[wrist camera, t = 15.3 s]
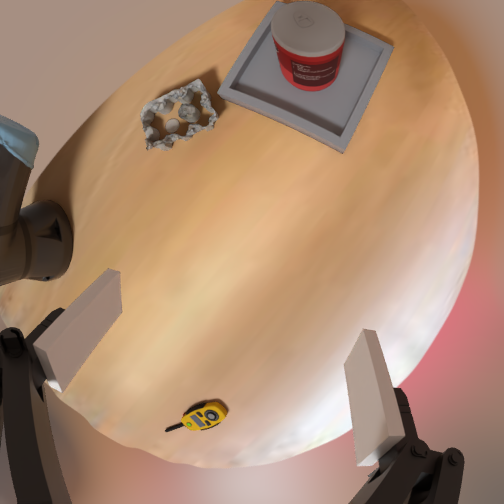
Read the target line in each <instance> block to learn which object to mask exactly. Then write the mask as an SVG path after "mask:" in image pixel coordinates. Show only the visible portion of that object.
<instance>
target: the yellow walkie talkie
mask: <svg viewBox="0 0 504 504" xmlns="http://www.w3.org/2000/svg"><path fill="white" fill-rule="evenodd" d="M226 415H227V411H226V409H225V408H224V407H223V406H222V405H221V404H220V403H218V402H211V403H202V404H199V405H196V406H194V407H192V408H190V409H189V410H188V411H187V412H186V413H184V414H183V417H182V419H181V422H182V424H179V425H177V426H174V427H171V428H169V429H166V430H165V432H169V431H172V430H174V429H177V428H180V427H183V426H185V427H187V428H188V429H189V430H192V431H193V430H206V429H209V428H212V427H214V426H216V425H218V424H219V423H220V422H221V421H222V420H223V419H224V418H225V417H226Z"/></svg>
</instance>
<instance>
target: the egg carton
mask: <svg viewBox="0 0 504 504" xmlns="http://www.w3.org/2000/svg"><path fill="white" fill-rule="evenodd" d="M197 91H200V92H201V93H203V94H202V95H201V98H202V99H201V101H200V104H201V106H203V107H204V108H206V109H207V110H208V111H209V112H211V113H214V115H212V116H210V118H209V120H208V121H209V125H207V126H205V127H202V126H201V125H199V124H190V125H189V128H188V130H187V135H186V136H180V135H178V134H170V135H166V137H165V138H164V139H162V140H158V139H159V137H160V132H159V131H158V130H157V129H155V128H153V127H151V126H150V123H151V122H152V121H153V120H154V114H155V113H157V112H160V113H162V114H168V113H170V112H171V111H172V109H173V104H174V103H175V102H177V101H179V102H181V103H182V105H181V107H180V108H179V111H178V114H179V117H180V118H182V119H184V120H186V121H188V122H190V123H194V122H196V121H197V120H198V119H199V118H200V111H199V110H198V109H197V108H196V107H195V106H194V105H192V104H189V103H190V102H191V101H192V100H193V97H194V93H195V92H197ZM210 100H211V95H210V93H209V92H208V91H207V90H206V88H205V87H204V85H203V83H202V82H201V81H200V79H197V80H195V81H193V82H191V83H189V84H188V85H187V86H184V87H181V88H180V89H174V90H173V91H171V92H170V93H168V94H165V95H163V96H162V97H160V98H158V99H155V100H153V101H151V102H148V103H147V104H146V105H145V106H144V107H143V109H142V111H141V113H140V116H141V121H142V124H143V130H144V131H145V133H146V137H147V139H145V141H146V145H147V147H146V149H147V150H148V149H152V148H153V147H155V148H160V149H161V150H163V151H168V150H170V149H172V144H173V142H174V141H176V140H178V139H182V140H185V141H188V140H189V139H191V138H192V135H193V134H195V133H197V132H199V131H201V130H203V129H205V130H206V131H210V130H212V129H213V128H214V123H215V121H216V120H217V119H218V118H219V116H218V113H217V112H216V111H215V110H214V109H213V108H212V107H211V102H210ZM179 125H180V124H179V121H178V120H177V119H170V120H168V122H167V123H166V126H165V128H166V131H167V132H169V133H174V132H175V131H177V130H178V128H179Z"/></svg>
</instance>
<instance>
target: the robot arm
mask: <svg viewBox="0 0 504 504" xmlns="http://www.w3.org/2000/svg"><path fill="white" fill-rule="evenodd" d="M38 147H39V140H38V137H37V136H36V134H35V133H33V132H32V131H31V130H29V129H28V128H26V127H24V126H22V125H20V124H19V123H17V122H15V121H13V120H11V119H8V118H6V117H4V116H2V115H0V286H2V285H5V284H8V283H11V282H14V281H17V280H21V279H31V280H38V281H51V280H54V279H57V278H60V277H61V276H62V275H63V274H64V273H65V272H66V270H67V269H68V266H69V264H70V261H71V256H72V233H71V228H70V224H69V221H68V219H67V216H66V214H65V212H64V211H63V209H62V208H61V207H60V206H59V205H58V204H57V203H55V202H53V201H50V200H43V201H36V202H34V203H32V204H30V205H28V206H26V207H24V208H22V209H21V205H22V201H23V197H24V193H25V190H26V186H27V183H28V180H29V177H30V173H31V170H32V169H33V168H34V160H35V157H36V153H37V151H38ZM121 313H122V302H121V284H120V272H119V271H115V270H112V269H109V268H108V269H107V270H106V271H105V272H104V273H103V274H102V275H101V276H100V277H99V278H97V279H96V280H95V281H94V282H93V283H92V284H91V285H90V286H89V287H88V288H87V289H86V290H85V291H84V292H83V293H82V294H81V295H80V296H79V297H78V298H77V299H76V300H75V301H74V302H73V303H72V304H71V305H70V306H69V307H68V308H67V309H66V310H65V309H63V308H58V309H56V310H54V311H52V312H51V313H50V314H49V315H48V316H47V317H46V318H45V320H43V321H42V322H41V323H40V324H39V325H38V326H37V327H36V328H35V329H34V330H33V331H32V332H31V333H30V334H29V335H28V336H27V337H26V338H25V339H24V336H23V334H22V332H21V331H20V329H18V328H15V327H10V328H6V329H5V330H3V331H1V333H0V446H1V437H2V429H3V422H4V428H5V438H6V446H7V453H8V459H9V465H10V471H11V476H12V480H13V485H14V489H15V493H16V497H17V504H72V502H71V499H70V496H69V493H68V490H67V487H66V484H65V481H64V478H63V475H62V471H61V468H60V464H59V460H58V457H57V453H56V449H55V445H54V440H53V435H52V431H51V426H50V420H49V415H48V409H47V403H46V395H45V388H44V385H43V383H44V381H45V380H46V379H47V381H48V383H49V385H50V387H52V388H54V389H56V390H58V391H59V392H61V393H63V392H64V390H65V389H66V387H67V386H68V385H69V383H70V382H71V380H72V379H73V377H74V376H75V375H76V373H77V372H78V370H79V369H80V368H81V366H82V365H83V363H84V362H85V361H86V359H87V358H88V357H89V355H90V354H91V352H92V351H93V350H94V348H95V347H96V346H97V344H98V343H99V342H100V340H101V339H102V338H103V336H104V335H105V334H106V332H107V331H108V330H109V329H110V327H111V326H112V325H113V323H114V322H115V321H116V319H117V318H118V317H119V316H120V314H121ZM344 369H345V375H346V382H347V389H348V396H349V403H350V410H351V418H352V427H353V435H354V444H355V454H356V465H357V466H372V465H373V464H374V463H376V462H377V461H378V460H379V468H377V469H376V470H374V471H373V472H372V473H371V474H370V475H368V477H370V476H371V477H370V478H369V480H368V481H367V482H366V483H365V484H364V486H363V487H362V488H361V489H360V491H359V492H358V493H357V494H356V495H355V497H354V498H353V499H352V500H351V501H350V503H349V504H458V500H459V494H460V488H461V483H462V476H463V469H464V456H463V454H462V453H461V452H460V450H458V449H456V448H448V449H447V450H446V451H445V452H443V453H441V452H436V451H433V450H429V447H428V445H427V444H426V443H425V442H424V441H422V440H420V439H419V438H418V436H417V432H416V428H415V424H414V421H413V417H412V414H411V410H410V407H409V403H408V399H407V397H406V395H405V393H404V392H403V391H402V390H401V388H393V386H392V382H391V379H390V375H389V372H388V369H387V365H386V362H385V359H384V356H383V352H382V349H381V346H380V343H379V340H378V337H377V334H376V331H373V330H367V329H363V330H362V332H361V334H360V336H359V337H358V339H357V341H356V343H355V345H354V347H353V349H352V351H351V353H350V354H349V356H348V358H347V360H346V362H345V363H344Z"/></svg>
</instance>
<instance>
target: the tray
mask: <svg viewBox="0 0 504 504" xmlns="http://www.w3.org/2000/svg"><path fill="white" fill-rule="evenodd" d="M286 4H287V3H283V2H279V1H276V2H275V4H274V5H273V6H272V8H271V9H270V11H269V12H268V13H267V15H266V16H265V18H264V19H263V21H262V22H261V23H260V25H259V26H258V28H257V29H256V31H255V32H254V34H253V35H252V37H251V38H250V40H249V41H248V43H247V44H246V46H245V47H244V49H243V50H242V52H241V54H240V55H239V57H238V58H237V60H236V62H235V63H234V65H233V66H232V68H231V70H230V71H229V73H228V75H227V76H226V78H225V80H224V81H223V83H222V85H221V87H220V88H219V90H218V92H217V93H218V94H219V96H220V97H221V98H222V99H224V100H227V101H229V102H232V103H235V104H237V105H240V106H242V107H245V108H247V109H250V110H252V111H254V112H257V113H259V114H262V115H264V116H266V117H269V118H271V119H273V120H275V121H278V122H280V123H282V124H284V125H286V126H289V127H291V128H293V129H295V130H297V131H299V132H301V133H303V134H305V135H307V136H309V137H311V138H313V139H315V140H317V141H319V142H321V143H323V144H325V145H327V146H329V147H331V148H333V149H335V150H337V151H339V152H340V153H342V154H343V153H344V151H345V149H346V147H347V145H348V143H349V141H350V139H351V137H352V135H353V133H354V131H355V129H356V127H357V125H358V123H359V121H360V119H361V117H362V115H363V113H364V111H365V109H366V107H367V105H368V103H369V101H370V98H371V96H372V94H373V92H374V90H375V88H376V86H377V84H378V81H379V79H380V77H381V75H382V73H383V71H384V69H385V66H386V64H387V62H388V60H389V58H390V55H391V53H392V51H393V49H394V47H393V46H391V45H389V44H388V43H386V42H384V41H382V40H380V39H378V38H376V37H374V36H371V35H369V34H367V33H365V32H363V31H361V30H358V29H356V28H354V27H351V26H349V25H347V24H344V27H345V40H344V46H343V51H342V56H341V61H340V66H339V71H338V75H337V78H336V79H335V81H334V82H333V83H332V84H331V85H330V86H329V87H327V88H325V89H323V90H320V91H315V92H310V91H304V90H301V89H298V88H296V87H295V86H293V85H292V84H291V83H289V82H288V81H287V80H286V79H285V77H284V76H283V74H282V71H281V68H280V64H279V60H278V56H277V52H276V48H275V44H274V41H273V37H272V32H271V20H272V17H273V15H274V14H275V12H276V11H277V10H278V9H279V8H281V7H282V6H284V5H286Z"/></svg>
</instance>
